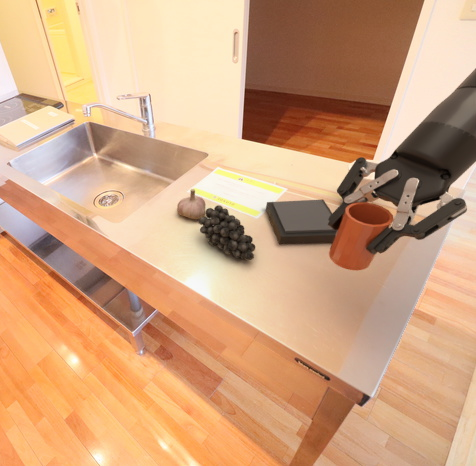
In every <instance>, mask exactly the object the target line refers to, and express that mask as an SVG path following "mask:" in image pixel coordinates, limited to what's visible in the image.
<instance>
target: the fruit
mask: <svg viewBox="0 0 476 466" xmlns="http://www.w3.org/2000/svg"><path fill="white" fill-rule="evenodd" d="M197 223H198V224H199V225H201V227H200V229H199V231H200V233H201V234H204V237H205V238H206V239H208V244H209V245H210V246H216V245H217V248H219V249H220V250H221V249H223V250H222V251H223V253H225V255H231V254H232V256H233V257H234V258H236V259H239V258H241V259H242V260H243V261H252V260H254V258H255V254H254V252H255V251H256V245H255V244H254V243H253V240H254V238H253V237H252V236H251V235H248V234H245V226H244V225H243V224H242V223H241V220H240V219H238V218H236V216H235V215H233V214H231V215H230V214H229V210H228V208H223V206H222V205H219V204H218V205H215V206H214V208H211V207H209V208H207V209H205V216H204V217H201V218H199V219H197Z"/></svg>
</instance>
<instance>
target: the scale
mask: <svg viewBox="0 0 476 466" xmlns="http://www.w3.org/2000/svg"><path fill="white" fill-rule="evenodd" d="M265 213H266V214H267V217H268V220H269V222H270V224H271V227H272V229H273V232H274V235H275V237H276V239H277V242H278V244H279V245H303V244H305V245H306V244H307V245H308V244H311V245H312V244H332V242H333V240H334V237H335V234H336V232H337V230H334V229H333V228H331V227H330V226H329V225H328V223H329V220H328V219H329V216H330V215H331V214H333V212H332V210H331V209H330V207H329V206H328V204H327V203H326V202H325V200H324V199H306V200H305V199H304V200H284V201H283V200H282V201H267V202H266V206H265Z"/></svg>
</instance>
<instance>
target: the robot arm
mask: <svg viewBox="0 0 476 466" xmlns="http://www.w3.org/2000/svg"><path fill="white" fill-rule="evenodd" d="M366 160H367V158H366V157H363V156H361V157H358V158H356V160H354V161H355V163H354V164H353V166H352V167H351V169H350V170H348V172H347V173H346V175H345V176H344V178H343V179H342V180H341V183H340V184H339V186H338V187H337V189H336V193H337V194H338V195H339V196H340V197H341V199H342V202H341V203H340V205H339V206H338V207H337V208H336V209H335V210H334V211H333V212H332V214H331V215H330V216H329V219H328V220H329V223H328V225H329V226H330V227H331V228H333V229H334V230H337V229H338V227H339V224H340V222H341V219H342V216H343V214H344V211H345V209H346V207H347V206H348V205H350V204H353V203H358V202H366V203H368V202H372V203H373V202H375V201H377V200H379V199H380V200H382V201H384V202H389V203H391V204H393V206H395V207H396V213H395V216H394V218H393V222H392V224H391V226H390V228H388V227H387V228H386V229H384V230H383V231H382V232H381V233H380V234H379V235H378V236H377V237H376V238H375V239H374V240H373V241H372V242H371V243H370V244H369V245H368V246H367V247H366V250H367V251H368V252H370V253H371V254H373V255H375V254H376V255H377V254H378V253H379V254H384V253H386V251H388V250H389V248H391V247H392V246H393V245H394V244H395V243H397V241H398V240H399V239H401V238H403V237H410V238H414V239H415V240H418V241H420V240H425V239H426V238H428V237H429V236H431V235H432V234H434V233H435V232H437V231H439V230H440V229H442V228H443V227H445V226H446V225H448V224H449V223H451V222H453V221H454V220H456V219H458V218H459V217H461V216H462V215H464V214H465V213H466V212H467V211H468V207H467V202H466V200H465V199H463V198H461V197H456V196H454V195H452V194H451V193H450V192H449V189H450V188H451V186H452V185H453V184H454V183H455V182H456V181H457V180H458V179H459V178H461V177H462V175H464V174H465V172H467V171H468V170H469V168H471V167H472V166H473V165H475V164H476V67H475V68H474V70H472V72H470V74H469V75H468V76H466V77H465V79H463V81H462V82H461V83H460V84H459V85H458V86H457V87H456V88H455V89H454V90H453V91H452V92H451V94H449V95H448V96H447V97H446V98H445V99H443V100H442V101H441V102H439V103H438V104H437V105H436V106H435V108H433V109H432V111H430V113H429V114H428V115H426V117H425V118H424V119H423V120H422V121H421V122H420V123H419V124H418V125H417V126H416V127H415V128H414V129H413V130H412V132H410V133H409V135H408V136H406V138H405V139H404V140H403V141H402V142H401V143H400V144H399V145H398V146H397V147H396V148H395V149H394V151H393V152H392V154H391V155H390V156H389V157H388V158H386V159H384V160H383V161H380V163H379V164H378V163H373V162H368V161H366ZM372 172H375V177H374V180H373V181H371V182H369V183H367V184H365V185H364V186H362V187H360V189H359V190H358V191H356V192H354V191H355V190H356V188H357V187H358V185H359V184H360V182H361V181H362V179H363V178H364V177H367V176H369V175H370V174H371V173H372ZM437 201H439V203H437V204H436V210H435V211H434V212H432V213H430V214H428V215H427V216H426V217H424V218H423V219H421V220H419V221H418V222H417V223H415V224H412V222H413V221H414V220H415V217H416V215H417V211H418V209H419V206H422V205H426V204H430V203H434V202H437ZM376 255H375V256H376Z"/></svg>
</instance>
